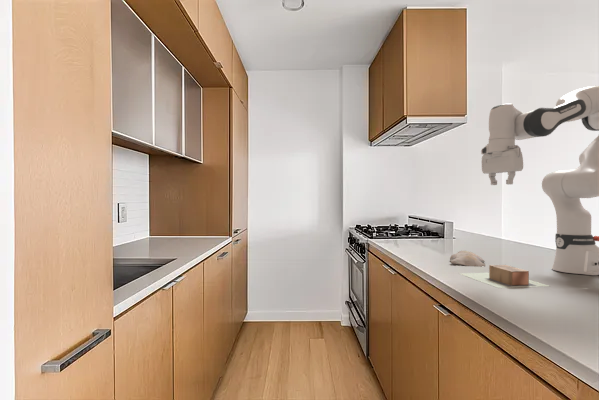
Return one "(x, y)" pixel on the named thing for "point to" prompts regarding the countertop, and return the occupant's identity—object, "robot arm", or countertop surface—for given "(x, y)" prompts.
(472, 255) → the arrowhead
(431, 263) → the countertop surface
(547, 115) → the robot arm
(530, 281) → the sage mat
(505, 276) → the walnut block
